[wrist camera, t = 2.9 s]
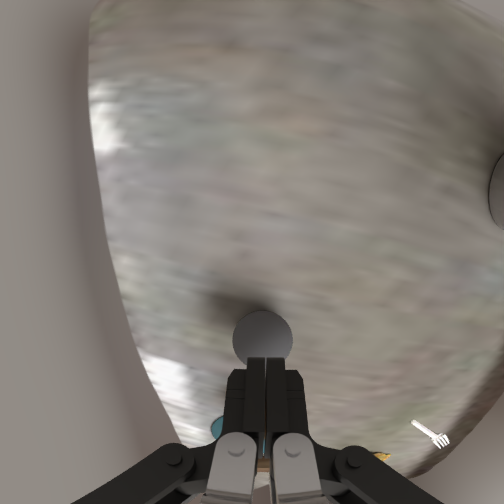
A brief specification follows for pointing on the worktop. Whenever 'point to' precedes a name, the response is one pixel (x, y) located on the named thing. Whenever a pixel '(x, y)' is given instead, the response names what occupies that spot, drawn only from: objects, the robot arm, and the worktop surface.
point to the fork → (430, 433)
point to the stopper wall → (263, 465)
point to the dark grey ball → (262, 336)
